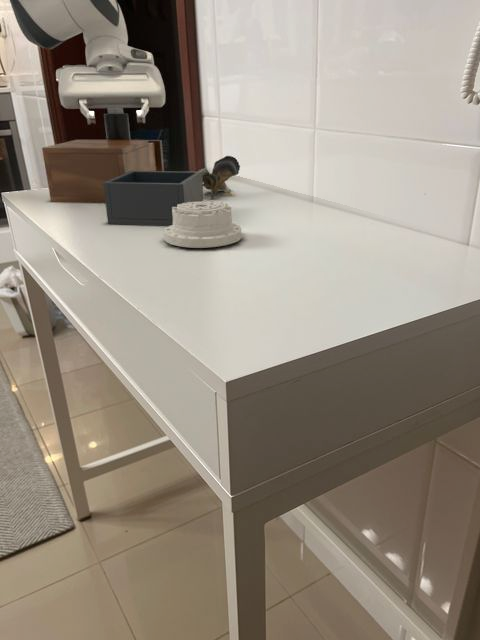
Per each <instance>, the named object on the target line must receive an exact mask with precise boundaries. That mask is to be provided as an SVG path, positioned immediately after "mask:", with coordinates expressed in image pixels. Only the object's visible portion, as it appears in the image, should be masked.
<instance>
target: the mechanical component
mask: <svg viewBox="0 0 480 640" xmlns="http://www.w3.org/2000/svg"><path fill="white" fill-rule="evenodd" d="M172 215H173V225H171V226H168V225H167V227H165V228H164V229H163V237H164V238H163V239H164V241H165V242H166V243H167V244H170V245H172V246H177V247H181V248H191V249H193V248H194V249H203V248H205V249H206V248H216V247H222V246H223V247H224V246H228V245H232V244H234V243H237V242H239V241H240V240H242V227H241V225H239V224H236V223H234V222H233V217H232V216H233V215H232V206H231V205H228V203H224V202H223V201H222V202H219V201H208V200H207V201H206V200H203V201H201V202H188V203H182V204H177V207H172Z"/></svg>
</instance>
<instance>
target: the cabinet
mask: <svg viewBox="0 0 480 640" xmlns="http://www.w3.org/2000/svg"><path fill="white" fill-rule="evenodd" d="M148 140H149V139H130V140H107V139H74V140H73V139H72V140H69V141H66V142H65V141H64V142H61V143H56V144H52V145H47V146H43V147H41V150H42V157H43V162H44V163H43V164H44V169H45V174H46V180H47V186H48V187H47V188H48V193H49V198H50V202H51V203H52V202H53V203H54V202H55V203H56V202H57V203H59V202H60V203H97V204H98V203H100V204H101V203H104V204H105V196H104V188H103V183H104V182H106V181H109V180H111V179H113V178H115V177H118V176H120V175H122V174H125V173H127V172H129V171H151V165H150V154H149V143H148Z"/></svg>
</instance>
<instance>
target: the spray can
mask: <svg viewBox="0 0 480 640" xmlns="http://www.w3.org/2000/svg"><path fill="white" fill-rule="evenodd" d="M103 119H104V128H105V135H106V136H105V137H106V140H131V131H130V122H129V120H130V119H129V114H128V113H126V112H124V108H107V113H103Z"/></svg>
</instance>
